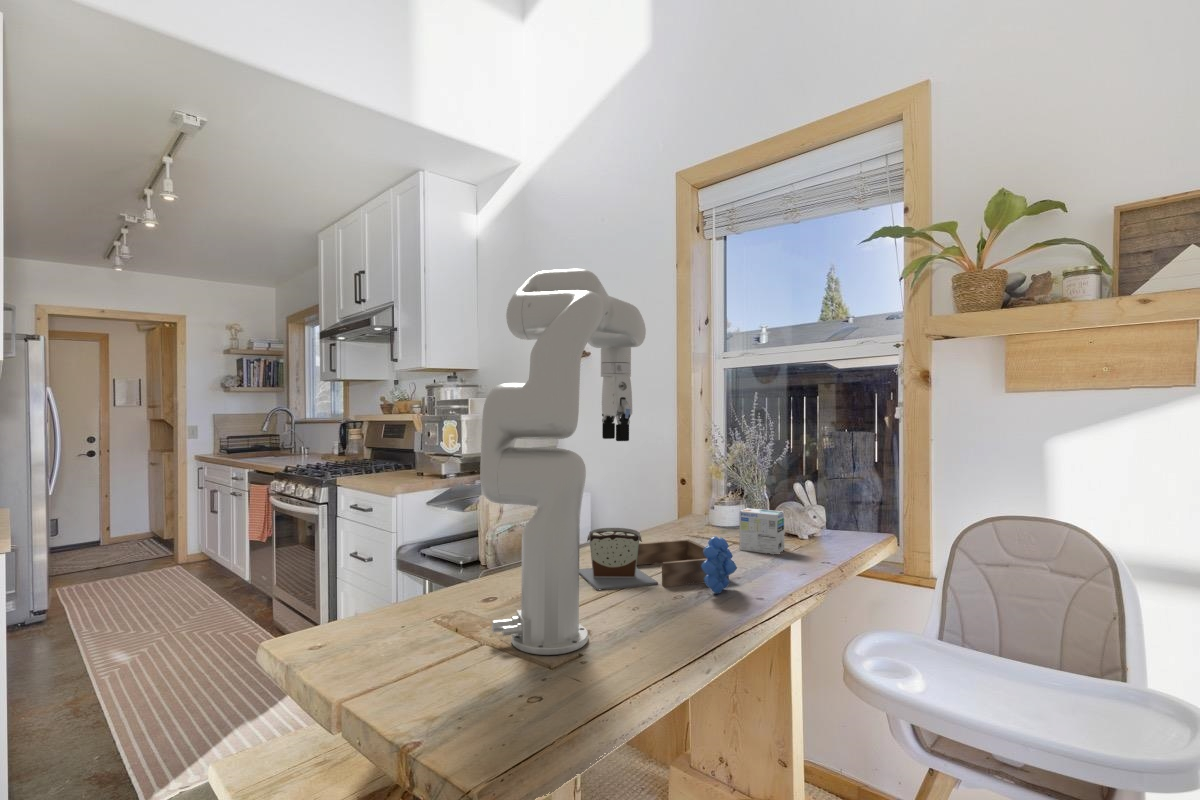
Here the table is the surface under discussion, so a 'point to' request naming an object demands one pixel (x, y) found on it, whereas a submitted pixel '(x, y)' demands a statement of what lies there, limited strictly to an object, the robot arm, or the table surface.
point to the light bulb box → (761, 531)
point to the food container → (614, 552)
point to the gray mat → (617, 580)
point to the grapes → (717, 564)
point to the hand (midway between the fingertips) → (615, 439)
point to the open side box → (675, 560)
